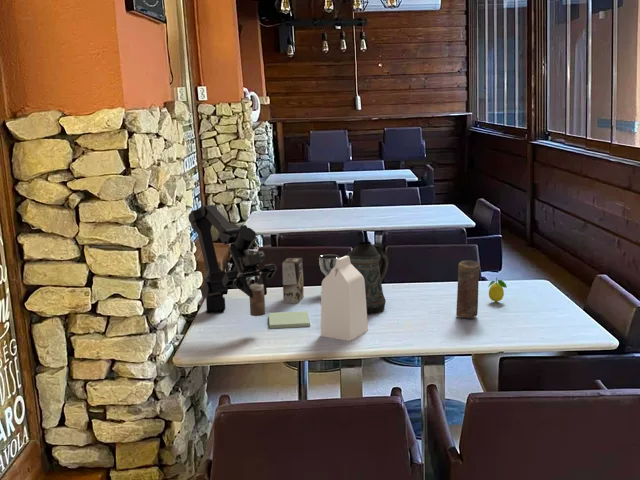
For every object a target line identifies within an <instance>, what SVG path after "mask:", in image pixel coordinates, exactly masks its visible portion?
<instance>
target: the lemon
mask: <svg viewBox="0 0 640 480" xmlns="http://www.w3.org/2000/svg"><path fill="white" fill-rule="evenodd" d="M495 278H496V279H495V280H491V281H490V282H489V284H488V288H489V289H488V297H489V299H490V300H491V301H493V302H494V303H498V302H499V301H501V300H503V298H504V295H505V291H504V289H505V288H508V287H507V284H506V283H505V281H503V280H502V279H498V277H495Z"/></svg>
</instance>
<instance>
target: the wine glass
mask: <svg viewBox="0 0 640 480" xmlns="http://www.w3.org/2000/svg"><path fill="white" fill-rule="evenodd" d="M339 258H340V256H339V255H337V254H322V255H319V257H318V260H319V262H318V263H319V267H320V271H321V273H323V274H324V276H325V277H326V276H327V275H328V274H329V273H330V272H331V270H332V269H333V268H334V267H335V265H336V261H337V259H339Z"/></svg>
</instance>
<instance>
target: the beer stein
mask: <svg viewBox="0 0 640 480" xmlns="http://www.w3.org/2000/svg"><path fill="white" fill-rule="evenodd" d="M346 256H349V257H350V262H351V264H352V265H353V266H354V267H355V268H356V269H357V270H358V271H359V272H360V273H361V274H362V276H363V277H364V280H365V293H366V308H367V316H368V315H376V314H379V313H382V312H383V311H384V310H385V305H386V297H385V295H384V291H383V285H382V283H383V281H384V279H385V277H386V274H387V272H388V269H389V258H388V256H387V253H386V252H385V251H383V249H382V247H381V246H380V245H377V244H372V242H371V241H359V242H358V244H357V245H356V246H355V247H354V248H353V249H351V251H350V252H348V254H346Z"/></svg>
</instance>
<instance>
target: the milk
mask: <svg viewBox="0 0 640 480" xmlns="http://www.w3.org/2000/svg"><path fill="white" fill-rule="evenodd" d="M320 295H321V299H320V301H321V302H320V307H321V308H320V337H325V338H326V337H327V338H331V339H338V340H342V341H347V342H352V341H353V340H355V339H357V338H359V337H360V336H361V335H364V334H365V333H366V332H369V325H368V322H369V321H368V315H367V308H366V293H365V280H364V277H363V276H362V274H361V273H360V272H359V271H358V270H357V269H356V268H355V267H354V266H353V265H352V264H351V262H350V257H349V256H347V255H344V256H342V257H339V259H337V261H336V265H335V267H334V268H333V269H332V270H331V272H330V273H329V274H328V275H327V276H326V275H325V277H324V278H323V279H322V281H321V292H320ZM351 340H352V341H351Z"/></svg>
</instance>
